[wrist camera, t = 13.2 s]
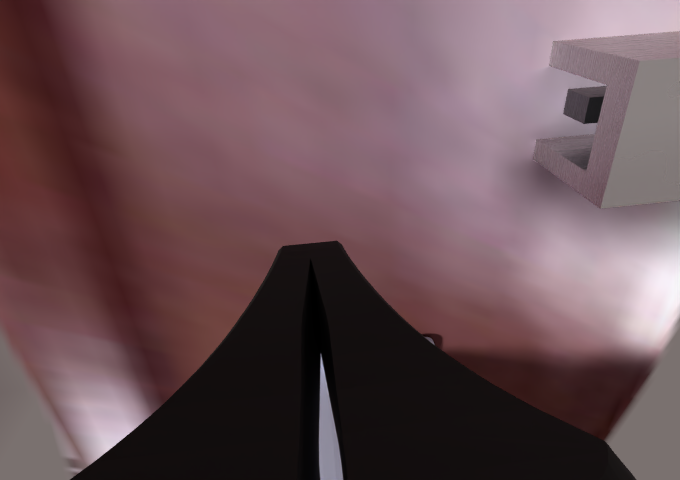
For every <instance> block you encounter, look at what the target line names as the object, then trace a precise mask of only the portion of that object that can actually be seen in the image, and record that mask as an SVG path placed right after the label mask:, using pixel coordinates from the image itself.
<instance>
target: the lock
mask: <svg viewBox="0 0 680 480" xmlns="http://www.w3.org/2000/svg"><path fill="white" fill-rule="evenodd" d="M549 66H551V67H554V68H557V69H560V70H563V71H566V72H569V73H572V74H575V75H578V76H581V77H585V78H588V79H591V80H594V81H597V82H600V83H603V84H606V85H607V86H606V91H605V95H604V99H603V103H602V107H601V112H600V116H599V120H598V124H597V128H596V133H595V134H591V135H580V136H569V137H558V138H547V139H536V144H535V150H534V156H533V160H534V161H536V162H537V163H539V164H540V165H541V166H543V167H544V168H545V169H547V170H548V171H549V172H551V173H552V174H554V175H555V176H556V177H558V178H559V179H560V180H562V181H563V182H565V183H566V184H567V185H569V186H570V187H571V188H573V189H574V190H575V191H577V192H578V193H580V194H581V195H582V196H584V197H585V198H586V199H588V200H589V201H590V202H592V203H593V204H595V205H596V206H597V207H599V208H600V209H603V208H612V207H622V206H632V205H642V204H652V203H662V202H672V201H680V31H676V32H663V33H651V34H638V35H625V36H613V37H600V38H588V39H575V40H562V41H553V44H552V50H551V56H550V62H549Z"/></svg>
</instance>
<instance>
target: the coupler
mask: <svg viewBox="0 0 680 480" xmlns="http://www.w3.org/2000/svg"><path fill="white" fill-rule="evenodd" d="M605 91H606V86H603V87H590V88H578V89H568V93H567V98H566V103H565V108H564V113H563V114H565V115H567V116H569V117H571V118H573V119H575V120H577V121H579V122H581V123H583V124H587V123H598V120H599V116H600V112H601V107H602V103H603V99H604V95H605Z"/></svg>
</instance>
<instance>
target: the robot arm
mask: <svg viewBox="0 0 680 480" xmlns="http://www.w3.org/2000/svg"><path fill="white" fill-rule="evenodd" d="M70 480H636V479H635V477H634V476H633V475H632V473H631V472H630V471H629V470H628V469H627V468H626V466H625V465H624V464H623V463H622V462H621V461H620V459H619V458H618V457H617V456H616V454H615V453H614V452H613V451H612V449H611V448H610V447H609V445H608V444H607V443H606V442H605V441H603V440H601V439H599V438H597V437H595V436H593V435H591V434H589V433H587V432H584V431H582V430H580V429H578V428H576V427H574V426H572V425H570V424H568V423H566V422H564V421H562V420H560V419H557V418H555V417H553V416H551V415H549V414H547V413H545V412H543V411H541V410H539V409H537V408H535V407H533V406H531V405H529V404H527V403H525V402H524V401H522V400H520V399H518V398H516V397H515V396H513V395H511V394H509V393H508V392H506V391H504V390H502V389H500V388H499V387H497V386H495V385H493V384H492V383H490V382H488V381H487V380H485V379H484V378H482V377H480V376H479V375H477V374H476V373H474V372H473V371H471V370H470V369H468V368H467V367H465V366H464V365H462V364H461V363H459V362H458V361H456V360H455V359H453V358H452V357H450V356H449V355H447V354H446V353H445V352H443V351H442V350H441V349H439V348H438V347H437V346H435V344H434V342H433V340H432V339H431V338H429V337H424V336H423V335H422V334H420V333H419V332H418V331H417V330H415V329H414V328H413V327H412V326H411V325H410V324H409V323H408V322H406V321H405V320H404V319H403V318H402V317H401V316H400V315H399V314H398V313H397V312H396V311H395V310H394V309H393V308H392V307H391V306H390V305H389V304H388V303H387V302H386V301H385V300H384V299H383V298H382V297H381V296H380V295H379V294H378V292H377V291H376V290H375V289H374V288H373V287H372V286H371V284H370V283H369V282H368V281H367V280H366V279H365V277H364V276H363V275H362V274H361V272H360V271H359V270H358V269H357V267H356V266H355V264H354V263H353V262H352V260H351V259H350V257H349V256H348V254H347V253H346V251H345V250H344V248H343V246H342V244H340V243H339V242H338V241H330V242H320V243H309V244H299V245H289V246H282V248H281V249H280V250H279V251H278V253H277V255H276V258H275V260H274V262H273V264H272V266H271V268H270V270H269V272H268V274H267V276H266V277H265V279H264V281H263V283H262V284H261V286H260V288H259V289H258V291H257V293H256V294H255V296H254V298H253V299H252V301H251V302H250V304H249V305H248V307H247V308H246V310H245V311H244V313H243V314H242V315H241V317H240V318H239V320H238V321H237V322H236V324H235V325H234V327H233V328H232V329H231V331H230V332H229V333H228V335H227V336H226V337H225V339H224V340H223V341H222V342H221V344H220V345H219V346H218V347H217V348H216V350H215V351H214V352H213V353H212V354H211V355H210V357H209V358H208V359H207V360H206V361H205V362H204V363H203V365H202V366H201V367H200V368H199V369H198V370H197V371H196V372H195V373H194V374H193V375H192V376H191V377H190V378H189V379H188V380H187V381H186V382H185V383H184V384H183V385H182V386H181V387H180V388H179V389H178V390H177V391H176V392H175V393H174V394H173V395H172V396H171V397H170V398H169V399H168V400H167V401H166V402H165V403H164V404H163V405H162V406H161V407H160V408H159V409H158V410H156V411H155V412H154V413H153V414H152V415H151V416H150V417H148V418H147V419H146V420H145V421H144V422H143V423H142V424H140V425H139V426H138V427H137V428H136V429H134V430H133V431H132V432H131V433H130V434H128V435H127V436H126V437H125V438H124V439H122V440H121V441H120V442H119V443H117V444H116V445H115V446H114V447H113V448H111V449H110V450H109V451H107V452H106V453H105V454H104V455H102V456H101V457H100V458H99V459H97V460H96V461H95V462H93V463H92V464H91V465H89V466H88V467H87V468H85V469H84V470H82V471H81V472H80V473H78V474H77V475H76V476H74V477H73V478H72V479H70Z"/></svg>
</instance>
